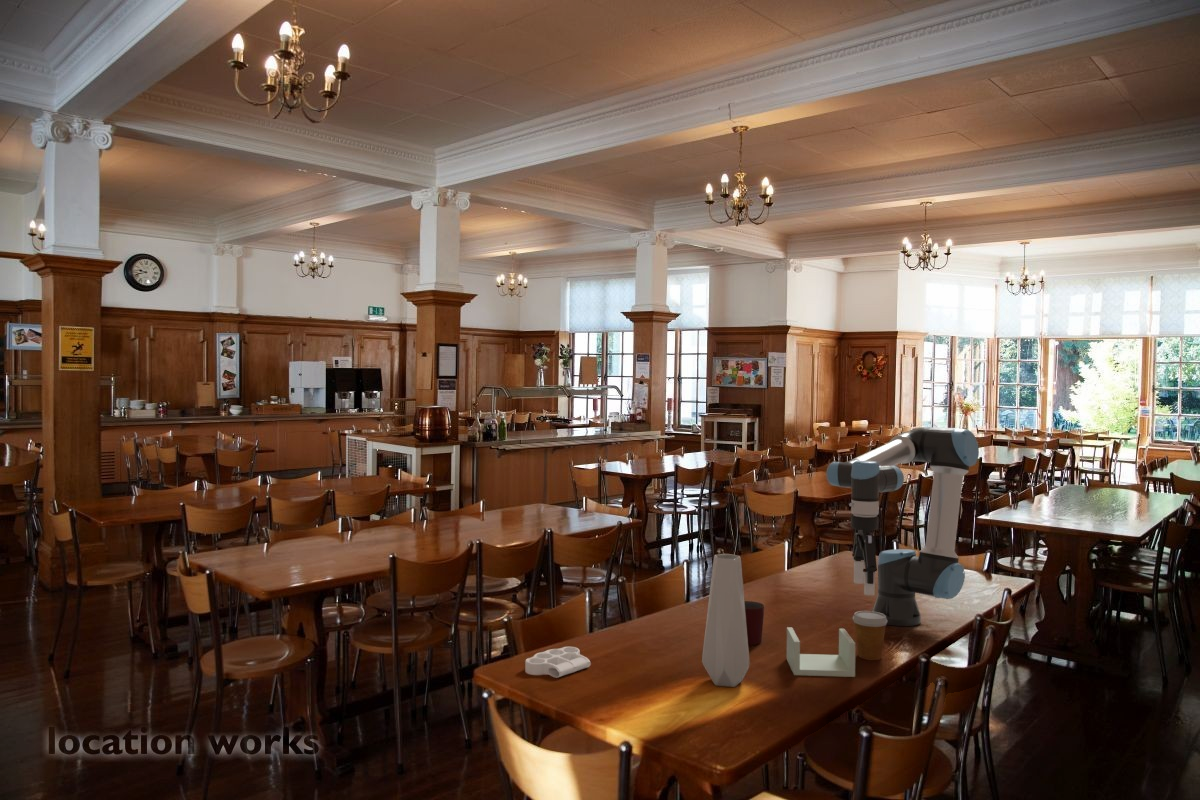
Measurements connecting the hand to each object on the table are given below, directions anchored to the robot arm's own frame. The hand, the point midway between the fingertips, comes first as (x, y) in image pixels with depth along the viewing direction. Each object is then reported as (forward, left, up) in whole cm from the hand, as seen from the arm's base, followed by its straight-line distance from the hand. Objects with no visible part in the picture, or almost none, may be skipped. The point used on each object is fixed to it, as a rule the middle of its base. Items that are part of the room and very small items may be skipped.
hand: (863, 589), depth 234 cm
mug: (+32, -9, -19) cm, 39 cm away
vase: (+40, +25, -19) cm, 51 cm away
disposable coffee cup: (-2, +1, -19) cm, 19 cm away
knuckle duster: (+86, +17, -20) cm, 90 cm away
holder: (+14, +11, -19) cm, 27 cm away
